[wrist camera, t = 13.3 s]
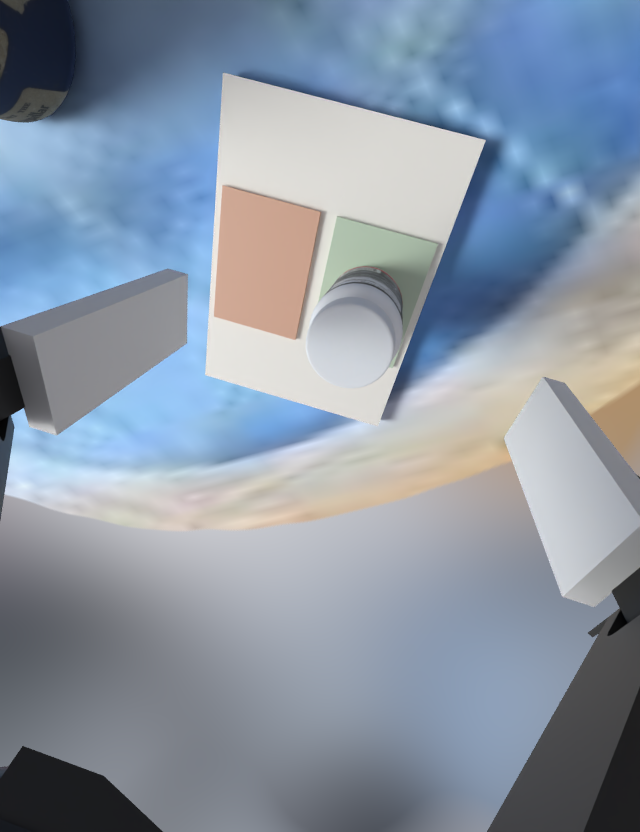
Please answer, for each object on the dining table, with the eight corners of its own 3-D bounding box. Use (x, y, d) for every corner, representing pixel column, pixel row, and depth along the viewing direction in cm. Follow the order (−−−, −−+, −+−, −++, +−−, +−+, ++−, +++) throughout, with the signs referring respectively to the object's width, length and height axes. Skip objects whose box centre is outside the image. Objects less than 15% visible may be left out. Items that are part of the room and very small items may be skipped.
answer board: (230, 77, 20) (220, 70, 19) (482, 142, 19) (486, 139, 18) (210, 369, 30) (203, 376, 29) (378, 419, 29) (377, 428, 28)
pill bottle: (370, 354, 25) (358, 415, 18) (314, 311, 24) (278, 357, 17) (419, 297, 23) (426, 342, 16) (358, 247, 22) (337, 271, 15)
